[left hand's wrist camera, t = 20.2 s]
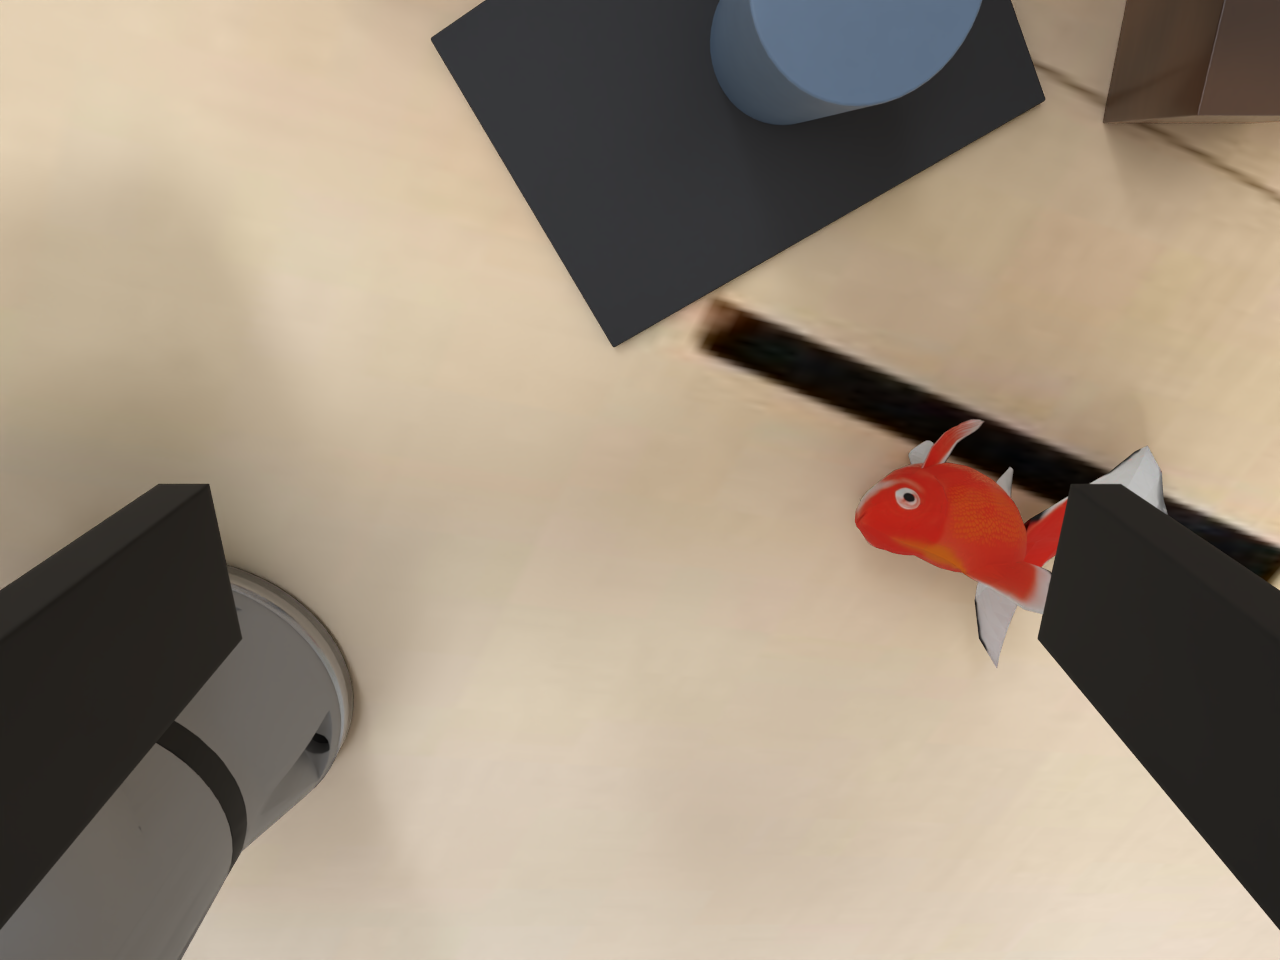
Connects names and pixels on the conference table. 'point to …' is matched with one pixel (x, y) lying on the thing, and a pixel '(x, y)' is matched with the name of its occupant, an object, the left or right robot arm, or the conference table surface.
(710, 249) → the mat
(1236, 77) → the brown rectangular block
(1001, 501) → the fish
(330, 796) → the conference table surface
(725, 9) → the slate blue cylinder
